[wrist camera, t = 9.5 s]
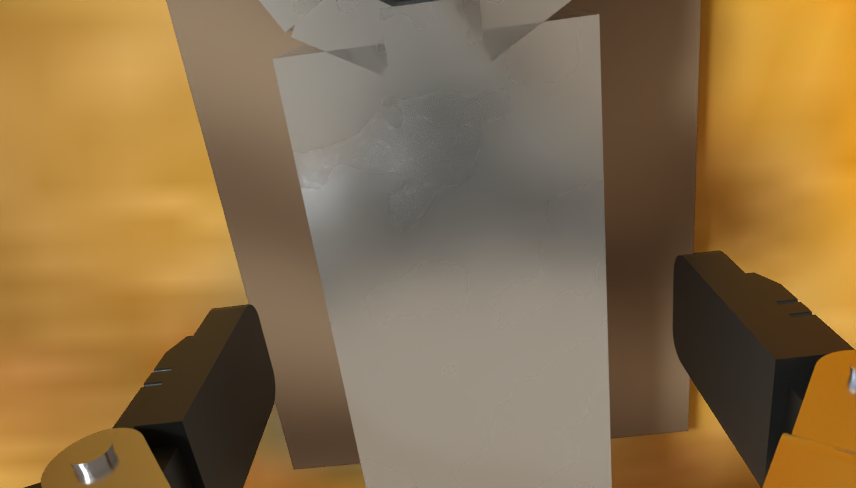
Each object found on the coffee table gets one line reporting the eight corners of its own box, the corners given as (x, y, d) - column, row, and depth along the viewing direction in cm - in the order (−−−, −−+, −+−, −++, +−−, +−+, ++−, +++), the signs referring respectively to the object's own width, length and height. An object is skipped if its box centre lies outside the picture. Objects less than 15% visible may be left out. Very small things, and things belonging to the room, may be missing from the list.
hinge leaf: (229, -278, 11) (131, -400, 8) (564, -335, 11) (629, -492, 7) (371, 420, 17) (353, 540, 14) (592, 398, 17) (636, 515, 13)
